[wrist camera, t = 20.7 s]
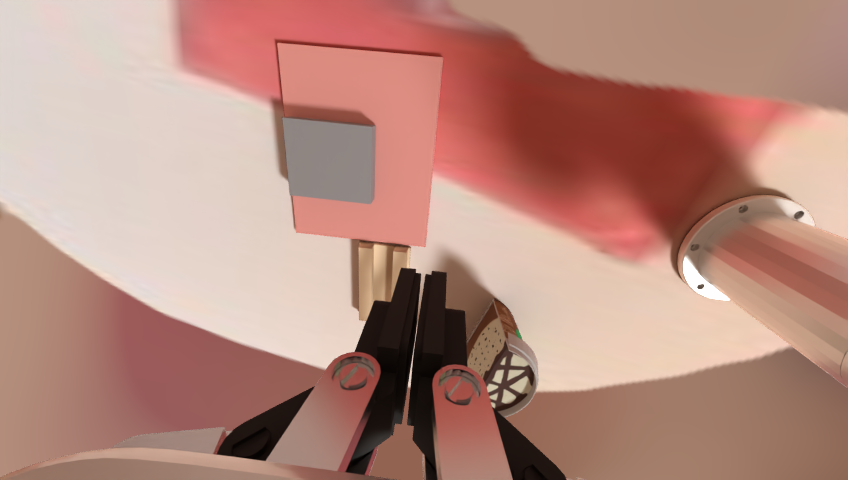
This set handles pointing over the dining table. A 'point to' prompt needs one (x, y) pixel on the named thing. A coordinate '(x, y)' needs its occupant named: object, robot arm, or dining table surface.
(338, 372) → the robot arm
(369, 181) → the grey square slab
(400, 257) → the stand
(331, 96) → the mat
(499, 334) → the half round cake
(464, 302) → the dining table surface
